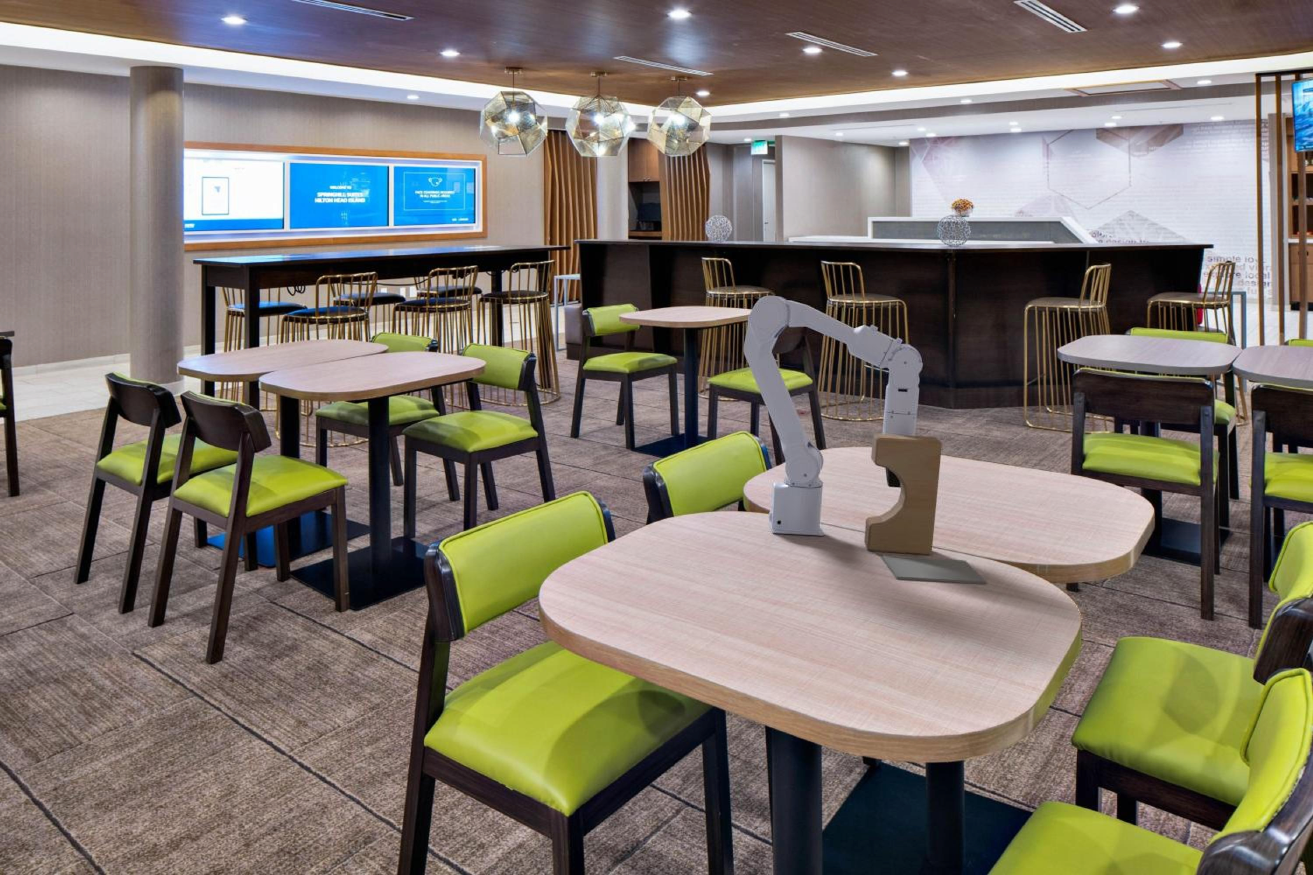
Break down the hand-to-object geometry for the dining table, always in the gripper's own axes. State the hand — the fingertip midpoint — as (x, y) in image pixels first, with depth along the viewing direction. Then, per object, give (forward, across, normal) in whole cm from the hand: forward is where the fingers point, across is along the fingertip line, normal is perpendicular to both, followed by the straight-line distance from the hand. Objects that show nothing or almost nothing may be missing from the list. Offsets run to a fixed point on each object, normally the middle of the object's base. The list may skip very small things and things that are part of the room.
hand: (894, 486), depth 172 cm
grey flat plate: (+10, -19, -3) cm, 22 cm away
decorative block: (+10, -7, 0) cm, 12 cm away
